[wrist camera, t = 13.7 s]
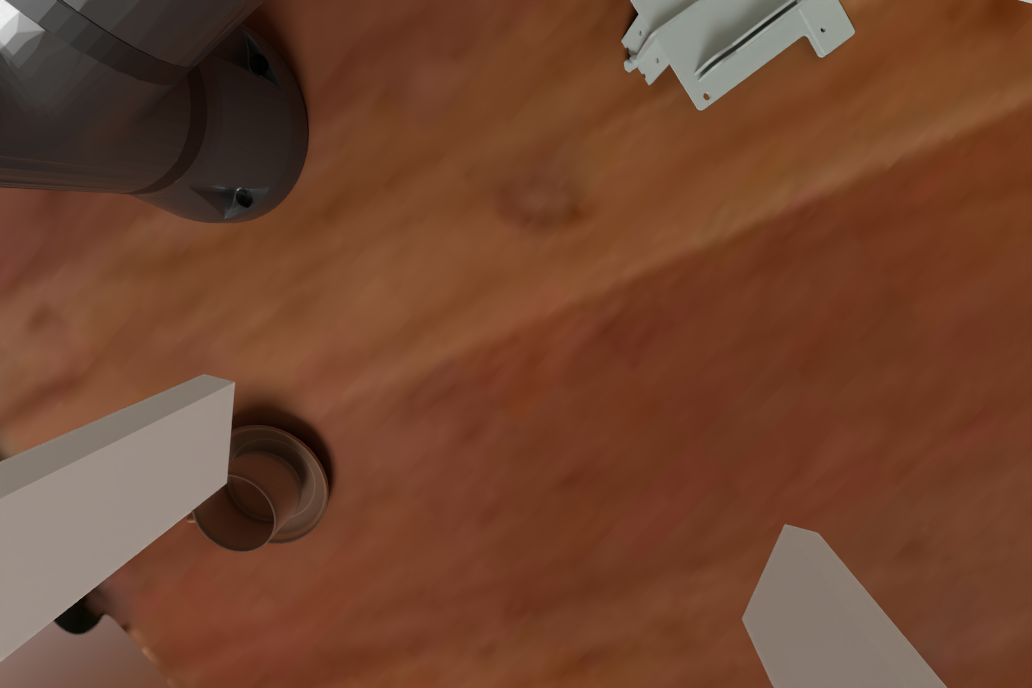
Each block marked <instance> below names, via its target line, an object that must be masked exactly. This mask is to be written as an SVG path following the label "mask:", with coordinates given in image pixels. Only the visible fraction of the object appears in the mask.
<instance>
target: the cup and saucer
mask: <svg viewBox="0 0 1032 688" xmlns="http://www.w3.org/2000/svg"><path fill="white" fill-rule="evenodd" d="M328 499H329V487H328V481H327V477H326V474H325V471H324V469H323V467H322V465H321V463H320V461H319V460H318V458H317V457H316V455H315V454H314V453H313V452H312V451H311V449H310V448H309V447H308V446H307V445H305V444H304V443H303V442H302V441H301V440H299V439H298V438H296V437H295V436H293V435H292V434H290V433H288V432H286V431H283V430H281V429H278V428H274V427H270V426H264V425H248V426H243V427H239V428H236V429H233V430H231V437H230V450H229V462H228V475H227V483H226V484H225V485H224V486H223V487H221V488H220V489H219V490H218V491H216V492H215V493H214V494H212V495H211V496H210V497H209V498H207V499H206V500H205V501H204V502H202V503H201V504H200V505H199V506H197V507H196V508H195V509H193V510H192V513H191V514H190V515H189V516H188V517H187V522H189V523H193V522H196V524H197V526H198V528H199V529H200V531H201V532H202V533H203V534H204V535H205V536H206V537H207V538H208V539H209V540H210V541H211V542H213V543H214V544H216V545H218V546H219V547H221V548H224V549H226V550H230V551H234V552H250V551H254V550H257V549H259V548H261V547H263V546H264V545H265V544H266V543H269V544H284V543H290V542H294V541H296V540H299V539H301V538H303V537H305V536H307V535H308V534H309V533H311V532H312V531H313V530H314V529H315V528H316V527H317V526H318V524H319V523H320V521H321V520H322V518H323V516H324V514H325V511H326V508H327V505H328Z"/></svg>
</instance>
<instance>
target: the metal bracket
mask: <svg viewBox="0 0 1032 688" xmlns="http://www.w3.org/2000/svg"><path fill="white" fill-rule="evenodd" d="M630 1H631V2H632V4H633V6H634V7H635V9H636V11H637V12H638V14H639V15H638V16H637V18H636V19H635V21H634V22H633V24H632V26H631V27H630V29H629V30H628V32H627V33H626V35H625V36H624V38H623V39H622V41H621V42H622V43H623V45H624V46H625V48H627V47H628V48H629V52H628V53H629V54H630V56H631V57H630V58H629V60H626V61H625V62H624V67H625V70H626V71H628V72H629V73H630V72H631V71H632V69H633V70H634V69H635V68H637V67H638V69H639V70H640V72H641V73H642V74H643V73H644V74H645V75H646V78H645V80H646V81H647V83H648V84H649V85H651V84H652V83H653V82H654V80H655V79H656V78H657V77H658V76H659V75H660V74H661V73H662V72H663V71H664V70H665V68H666V67H667V66H668V65H669V64H670V66H671V67H672V69H673V70H674V72H675V74H676V75H677V77H678V79H679V80H680V82H681V83H682V85H683V87H684V88H685V90H686V91H687V93H688V95H689V96H690V98H691V100H692V101H693V103H694V104H695V106H696V108H697V109H698V110H704V109H705V108H707V107H708V106H709V105H711V104H712V103H713V102H715V101H716V100H717V99H719V98H720V97H721V96H723V95H724V94H725V93H727V92H728V91H729V90H731V89H732V88H733V87H735V86H736V85H737V84H739V83H740V82H741V81H743V80H744V79H745V78H747V77H748V76H749V75H751V74H752V73H753V72H755V71H756V70H757V69H759V68H760V67H761V66H763V65H764V64H765V63H767V62H768V61H770V60H771V59H772V58H774V57H775V56H776V55H778V54H779V53H780V52H782V51H783V50H784V49H786V48H787V47H788V46H790V45H791V44H792V43H794V42H795V41H796V40H798V39H799V38H800V37H802V36H806V37H807V38H808V39H809V41H810V42H811V44H812V46H813V48H814V50H815V51H816V53H817V55H818V56H819V57H824V56H826V55H827V54H829V53H830V52H831V51H833V50H834V49H835V48H837V47H838V46H839V45H841V44H842V43H843V42H845V41H846V40H847V39H849V38H850V37H851V36H853V34H854V33H855V31H854V28H853V26H852V24H851V22H850V21H849V19H848V17H847V15H846V13H845V11H844V10H843V8H842V6H841V4H840V2H839V0H630ZM821 28H822V30H823V32H822V31H821ZM640 31H641V33H640ZM657 59H658V60H659V61H658V60H657ZM704 93H707V94H708V95H709V100H705V99H704V98H703V94H704Z"/></svg>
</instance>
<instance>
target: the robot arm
mask: <svg viewBox="0 0 1032 688" xmlns="http://www.w3.org/2000/svg"><path fill="white" fill-rule="evenodd" d="M264 1H265V0H0V187H5V188H24V189H43V190H62V191H81V192H100V193H115V194H129V195H132V196H134V197H136V198H138V199H141V200H143V201H145V202H147V203H150V204H152V205H154V206H156V207H159V208H161V209H163V210H165V211H168V212H170V213H172V214H175V215H177V216H180V217H183V218H186V219H190V220H194V221H199V222H206V223H238V222H245V221H249V220H252V219H255V218H258V217H260V216H262V215H264V214H266V213H268V212H269V211H271V210H272V209H274V208H275V207H276V206H277V205H279V204H280V203H281V202H282V201H283V200H284V199H285V198H286V196H287V195H288V194H289V193H290V191H291V190H292V188H293V187H294V185H295V183H296V181H297V179H298V178H299V175H300V173H301V170H302V167H303V164H304V160H305V156H306V150H307V140H308V128H307V117H306V111H305V107H304V102H303V99H302V96H301V93H300V90H299V87H298V85H297V83H296V81H295V78H294V77H293V75H292V73H291V71H290V69H289V68H288V66H287V64H286V63H285V62H284V60H283V59H282V57H281V56H280V55H279V54H278V52H277V51H276V50H275V49H274V48H273V47H272V46H271V45H270V44H269V43H268V42H267V41H266V40H265V39H264V38H262V37H261V36H260V35H259V34H257V33H256V32H255V31H253V30H252V29H250V28H248V27H247V26H245V25H244V24H242V22H243V21H244V20H245V19H246V18H247V17H248V16H249V15H250V14H251V13H252V12H253V11H255V10H256V9H257V8H258V7H259V6H260V5H261V4H262V3H263V2H264ZM234 388H235V382H232V381H229V380H225V379H221V378H217V377H213V376H209V375H205V374H203V375H201V376H198V377H196V378H194V379H191V380H189V381H187V382H184V383H182V384H180V385H177V386H175V387H173V388H170V389H168V390H166V391H163V392H161V393H159V394H157V395H154V396H152V397H150V398H147V399H145V400H143V401H140V402H138V403H136V404H133V405H131V406H129V407H126V408H124V409H122V410H119V411H117V412H115V413H112V414H110V415H108V416H105V417H103V418H101V419H98V420H96V421H94V422H92V423H89V424H87V425H85V426H82V427H80V428H78V429H75V430H73V431H71V432H68V433H66V434H64V435H61V436H59V437H57V438H54V439H52V440H50V441H47V442H45V443H43V444H40V445H38V446H36V447H33V448H31V449H29V450H26V451H24V452H22V453H20V454H17V455H15V456H13V457H10V458H8V459H6V460H3V461H0V662H1V661H2V660H3V659H5V658H6V657H7V656H8V655H10V654H11V653H12V652H13V651H15V650H16V649H17V648H19V647H20V646H21V645H22V644H24V643H25V642H26V641H28V640H29V639H30V638H31V637H33V636H34V635H35V634H36V633H38V632H39V631H40V630H41V629H43V628H44V627H45V626H46V625H48V624H49V623H50V622H52V621H53V620H54V619H55V618H57V617H58V616H59V615H60V614H62V613H63V612H64V611H66V610H67V609H68V608H69V607H71V606H72V605H73V604H74V603H76V602H77V601H78V600H79V599H81V598H82V597H83V596H85V595H86V594H87V593H88V592H90V591H91V590H92V589H93V588H95V587H96V586H97V585H98V584H100V583H101V582H102V581H104V580H105V579H106V578H107V577H109V576H110V575H111V574H112V573H114V572H115V571H116V570H117V569H119V568H120V567H121V566H123V565H124V564H125V563H126V562H128V561H129V560H130V559H131V558H133V557H134V556H135V555H136V554H138V553H139V552H140V551H142V550H143V549H144V548H145V547H147V546H148V545H149V544H150V543H152V542H153V541H154V540H155V539H157V538H158V537H159V536H161V535H162V534H163V533H164V532H166V531H167V530H168V529H169V528H171V527H172V526H173V525H174V524H176V523H177V522H178V521H180V520H181V519H182V518H183V517H185V516H186V515H187V514H188V513H190V512H191V511H192V510H193V509H195V508H196V507H197V506H199V505H200V504H201V503H202V502H204V501H205V500H206V499H207V498H209V497H210V496H211V495H212V494H214V493H215V492H216V491H218V490H219V489H220V488H221V487H223V486H224V485H225V484H226V483H227V475H228V462H229V450H230V437H231V425H232V413H233V400H234ZM742 620H743V623H744V625H745V627H746V629H747V631H748V633H749V636H750V638H751V640H752V642H753V644H754V646H755V649H756V651H757V653H758V655H759V657H760V659H761V662H762V664H763V666H764V668H765V670H766V672H767V675H768V677H769V679H770V681H771V683H772V686H773V688H947V687H946V686H945V685H944V683H943V682H942V681H941V680H940V679H939V677H938V676H937V675H936V674H935V673H934V671H933V670H932V669H931V668H930V667H929V665H928V664H927V663H926V662H925V661H924V659H923V658H922V657H921V656H920V655H919V653H918V652H917V651H916V650H915V649H914V647H913V646H912V645H911V644H910V643H909V641H908V640H907V639H906V638H905V637H904V635H903V634H902V633H901V632H900V631H899V629H898V628H897V627H896V626H895V625H894V623H893V622H892V621H891V620H890V619H889V617H888V616H887V615H886V614H885V613H884V611H883V610H882V609H881V608H880V607H879V605H878V604H877V603H876V602H875V601H874V599H873V598H872V597H871V596H870V595H869V593H868V592H867V591H866V590H865V589H864V587H863V586H862V585H861V584H860V583H859V581H858V580H857V579H856V578H855V577H854V575H853V574H852V573H851V572H850V571H849V569H848V568H847V567H846V566H845V565H844V563H843V562H842V561H841V560H840V559H839V557H838V556H837V555H836V554H835V553H834V551H833V550H832V549H831V548H830V547H829V545H828V544H827V543H826V542H825V541H824V539H823V538H822V537H821V536H820V535H819V533H817V532H813V531H809V530H805V529H802V528H798V527H794V526H790V525H786V524H785V525H784V527H783V529H782V531H781V534H780V536H779V538H778V540H777V543H776V545H775V547H774V549H773V551H772V554H771V556H770V558H769V560H768V562H767V565H766V567H765V569H764V571H763V573H762V576H761V578H760V580H759V582H758V584H757V587H756V589H755V591H754V593H753V595H752V598H751V600H750V602H749V604H748V606H747V609H746V611H745V613H744V615H743V617H742Z"/></svg>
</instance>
